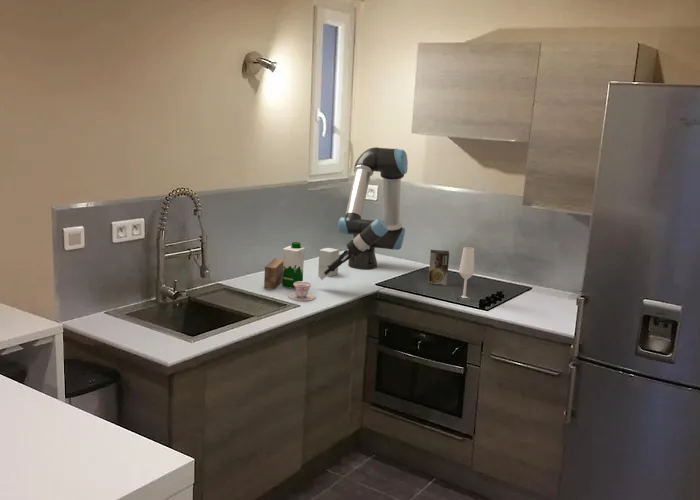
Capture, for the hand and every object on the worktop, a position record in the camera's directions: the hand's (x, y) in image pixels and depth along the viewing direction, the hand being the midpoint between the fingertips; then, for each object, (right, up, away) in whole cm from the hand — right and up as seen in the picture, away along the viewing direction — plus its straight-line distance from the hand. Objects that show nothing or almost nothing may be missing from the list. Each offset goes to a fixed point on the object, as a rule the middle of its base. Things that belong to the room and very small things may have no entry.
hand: (320, 277), depth 322 cm
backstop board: (-22, -3, +4) cm, 22 cm away
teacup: (-7, -8, -13) cm, 17 cm away
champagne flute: (+66, -10, -3) cm, 66 cm away
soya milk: (-13, -4, +3) cm, 14 cm away
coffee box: (+56, -4, +21) cm, 60 cm away
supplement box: (+3, 0, +26) cm, 26 cm away
